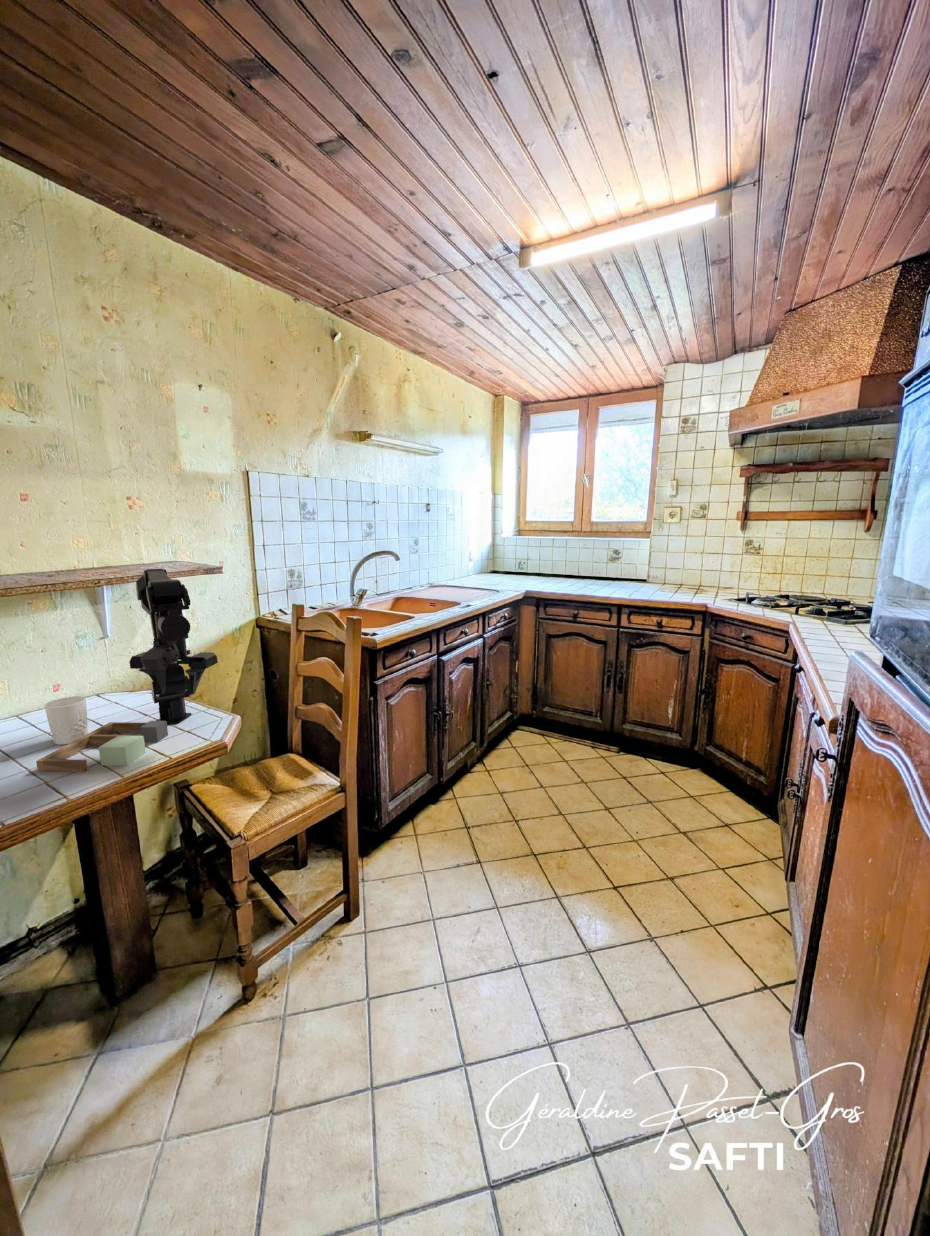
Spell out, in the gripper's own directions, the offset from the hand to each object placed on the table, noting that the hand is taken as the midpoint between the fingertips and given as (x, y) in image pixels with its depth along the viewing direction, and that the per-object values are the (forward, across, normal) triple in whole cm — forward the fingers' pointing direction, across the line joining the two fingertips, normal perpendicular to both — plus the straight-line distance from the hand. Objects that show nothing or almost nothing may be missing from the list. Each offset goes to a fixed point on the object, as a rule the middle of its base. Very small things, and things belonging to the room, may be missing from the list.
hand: (178, 693), depth 117 cm
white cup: (+12, -28, -1) cm, 31 cm away
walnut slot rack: (+12, -17, -6) cm, 22 cm away
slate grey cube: (+12, -7, 0) cm, 14 cm away
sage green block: (+12, -7, -11) cm, 18 cm away
